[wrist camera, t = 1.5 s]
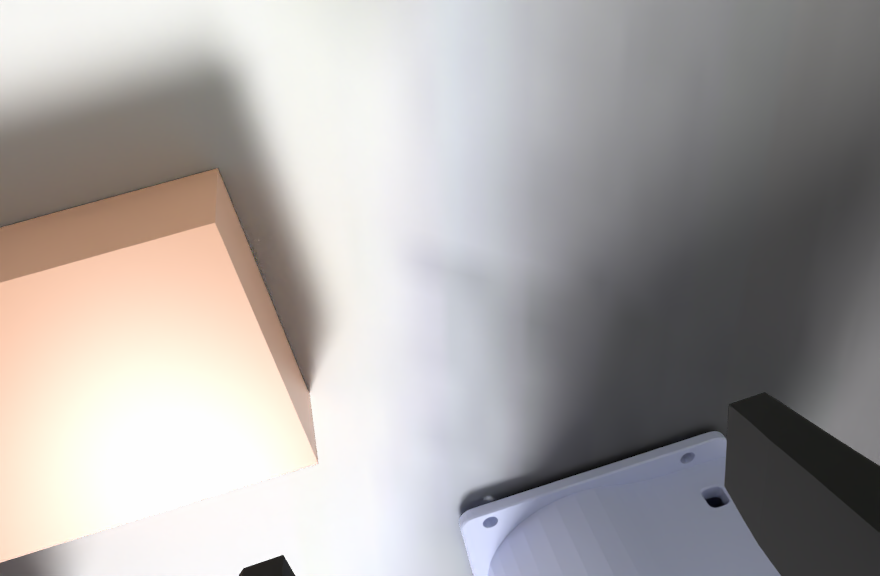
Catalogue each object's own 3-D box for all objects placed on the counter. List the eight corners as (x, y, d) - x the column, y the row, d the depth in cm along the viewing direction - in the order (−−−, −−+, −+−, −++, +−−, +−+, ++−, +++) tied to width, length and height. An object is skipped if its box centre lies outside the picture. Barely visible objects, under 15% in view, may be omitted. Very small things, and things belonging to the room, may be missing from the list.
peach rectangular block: (217, 168, 16) (215, 222, 14) (309, 394, 20) (317, 463, 18) (-155, 269, 15) (-218, 343, 13) (18, 482, 19) (-9, 565, 17)
